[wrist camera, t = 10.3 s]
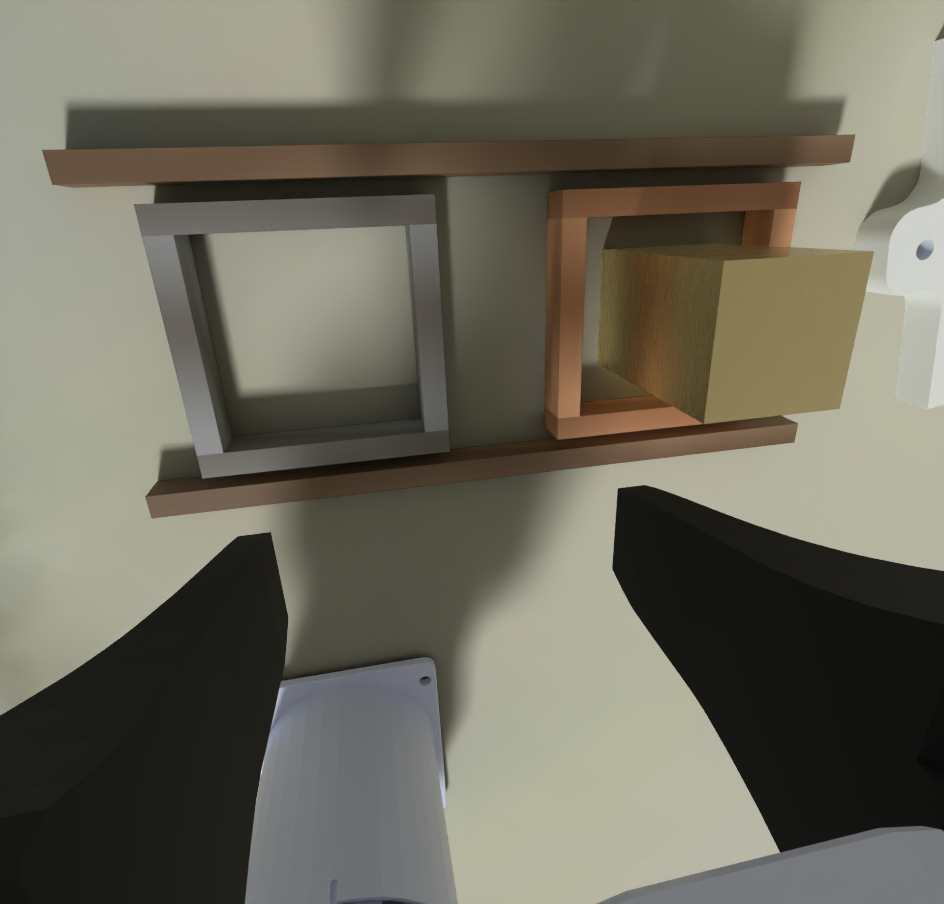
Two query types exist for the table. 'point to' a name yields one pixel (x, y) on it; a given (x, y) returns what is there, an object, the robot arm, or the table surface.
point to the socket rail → (432, 303)
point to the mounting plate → (916, 259)
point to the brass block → (732, 326)
